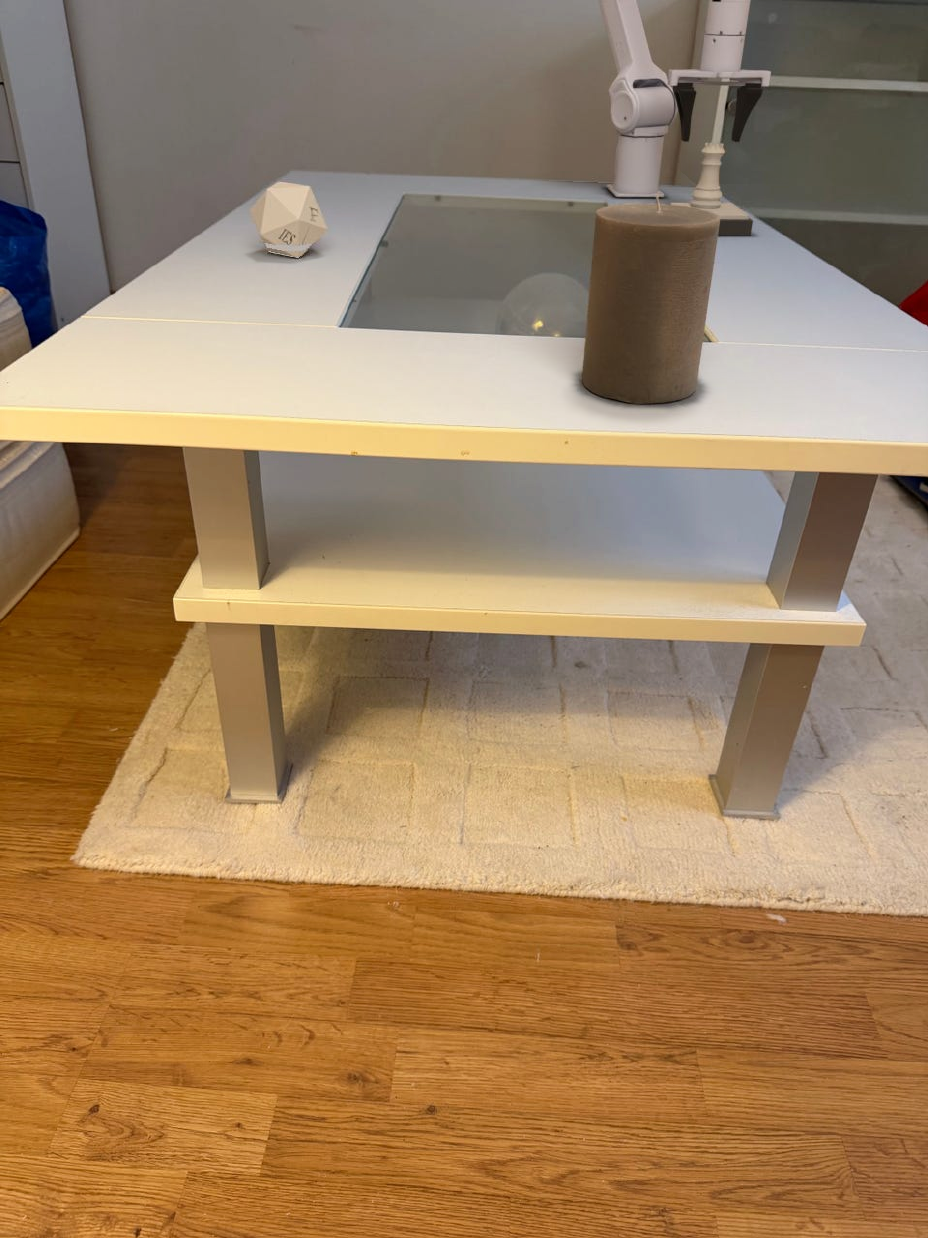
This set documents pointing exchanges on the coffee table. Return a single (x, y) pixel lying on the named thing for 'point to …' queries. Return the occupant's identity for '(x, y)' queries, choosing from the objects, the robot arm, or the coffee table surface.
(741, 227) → the scale
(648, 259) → the pillar candle
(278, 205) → the die
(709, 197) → the rook chess piece
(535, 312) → the coffee table surface
